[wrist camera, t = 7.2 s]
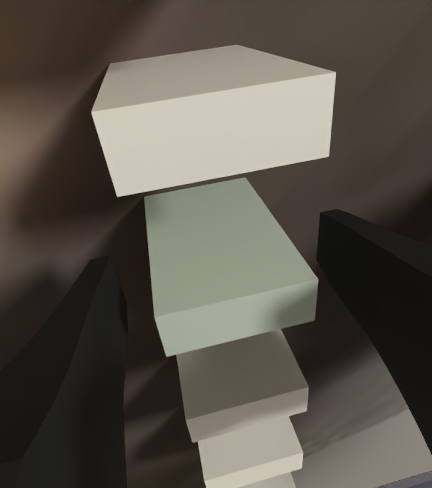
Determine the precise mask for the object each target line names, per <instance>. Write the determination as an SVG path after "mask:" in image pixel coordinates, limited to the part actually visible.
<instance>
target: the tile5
mask: <svg viewBox="0 0 432 488" xmlns="http://www.w3.org/2000/svg"><path fill="white" fill-rule="evenodd" d="M198 446H199V452H200V458H201V464H202V470H203V476H204V482H205V485H206V488H238V487H241V486H244V485H248V484H251V483H254V482H258V481H261V480H264V479H268V478H271V477H275V476H278V475H281V474H285V473H288V472H291V471H295V470H298V469H301V468H302V460H303V451H302V448H301V446H300V443H299V441H298V438H297V436H296V433H295V431H294V428H293V426H292V423H291V421H290V418H289V416H287V417H284V418H280V419H276V420H273V421H269V422H266V423H262V424H258V425H255V426H251V427H248V428H244V429H240V430H237V431H233V432H230V433H226V434H222V435H219V436H215V437H212V438H208V439H204V440H201V441H198Z"/></svg>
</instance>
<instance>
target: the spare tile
mask: <svg viewBox="0 0 432 488" xmlns="http://www.w3.org/2000/svg"><path fill="white" fill-rule="evenodd" d="M144 202H145V214H146V225H147V237H148V249H149V260H150V272H151V284H152V295H153V307H154V318H155V321H156V324H157V328H158V331H159V334H160V337H161V341H162V344H163V347H164V351H165V354H166V357H168V356H172V355H176V354H180V353H184V352H188V351H192V350H196V349H201V348H205V347H209V346H213V345H217V344H221V343H225V342H229V341H233V340H237V339H241V338H245V337H250V336H254V335H258V334H262V333H266V332H270V331H274V330H278V329H282V328H286V327H290V326H294V325H299V324H303V323H307V322H311V321H315V312H316V301H317V289H318V278H317V277H316V275H315V274H314V273H313V271H312V270H311V268H310V267H309V266H308V264H307V263H306V261H305V260H304V259H303V257H302V256H301V255H300V253H299V252H298V250H297V249H296V248H295V246H294V245H293V243H292V242H291V241H290V239H289V238H288V236H287V235H286V234H285V232H284V231H283V229H282V228H281V227H280V225H279V224H278V222H277V221H276V220H275V218H274V217H273V215H272V214H271V213H270V211H269V210H268V208H267V207H266V206H265V204H264V203H263V201H262V200H261V199H260V197H259V196H258V195H257V193H256V192H255V190H254V189H253V188H252V186H251V185H250V183H249V182H248V181H247V179H246V178H240V179H235V180H229V181H224V182H219V183H214V184H208V185H203V186H198V187H193V188H187V189H182V190H177V191H172V192H166V193H161V194H156V195H151V196H145V197H144Z"/></svg>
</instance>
